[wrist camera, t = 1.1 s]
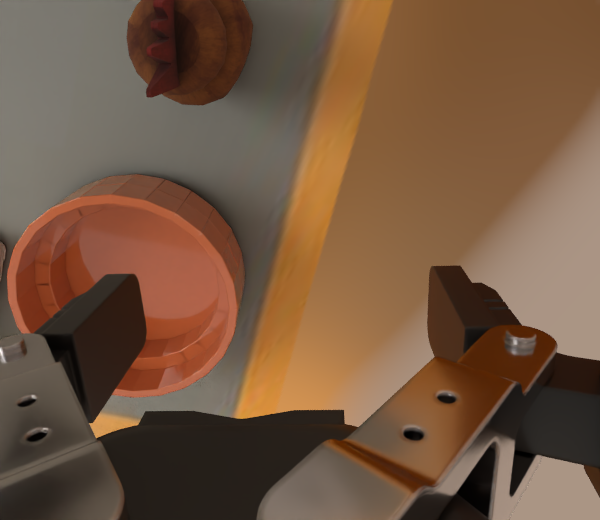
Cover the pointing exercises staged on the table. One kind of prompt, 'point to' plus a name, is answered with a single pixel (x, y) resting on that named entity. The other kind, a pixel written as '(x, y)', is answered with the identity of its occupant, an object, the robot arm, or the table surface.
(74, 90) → the table surface
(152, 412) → the robot arm
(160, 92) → the wooden figurine
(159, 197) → the bowl
